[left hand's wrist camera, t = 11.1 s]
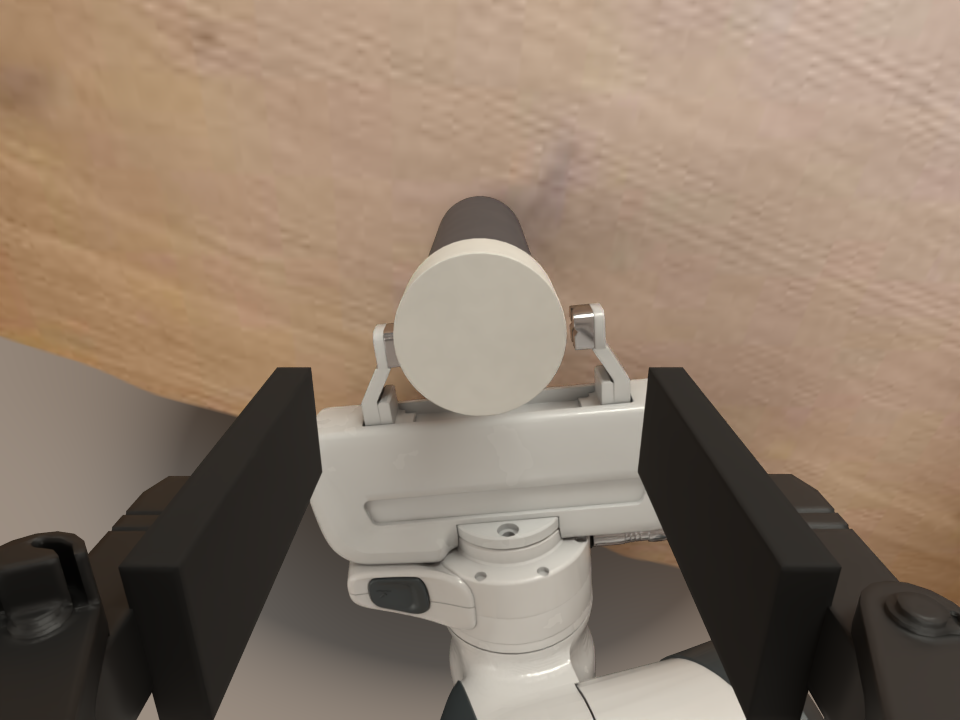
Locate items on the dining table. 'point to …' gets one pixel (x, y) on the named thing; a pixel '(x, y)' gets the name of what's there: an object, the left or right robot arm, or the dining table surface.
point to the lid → (480, 328)
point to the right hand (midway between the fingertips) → (487, 316)
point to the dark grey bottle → (480, 224)
